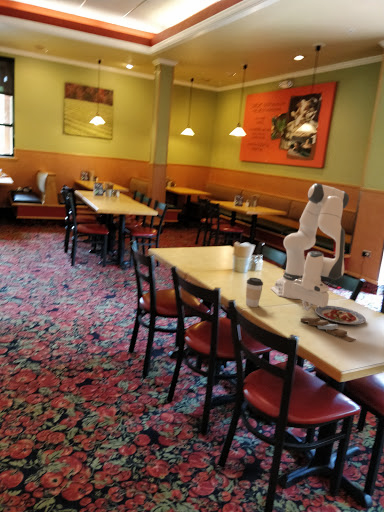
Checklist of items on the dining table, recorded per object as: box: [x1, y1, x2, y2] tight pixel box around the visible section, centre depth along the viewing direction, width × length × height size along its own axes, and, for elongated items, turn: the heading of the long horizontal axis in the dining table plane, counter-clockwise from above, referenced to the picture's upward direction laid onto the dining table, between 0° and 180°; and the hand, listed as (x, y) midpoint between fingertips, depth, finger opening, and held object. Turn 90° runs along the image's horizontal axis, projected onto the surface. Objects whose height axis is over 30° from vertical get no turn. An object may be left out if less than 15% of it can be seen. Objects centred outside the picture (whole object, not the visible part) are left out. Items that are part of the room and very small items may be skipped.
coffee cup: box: [245, 277, 264, 308], centre depth 228 cm, size 9×9×15 cm
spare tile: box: [317, 323, 339, 330], centre depth 203 cm, size 2×5×8 cm
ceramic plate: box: [314, 305, 366, 325], centre depth 223 cm, size 26×26×3 cm
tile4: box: [325, 328, 348, 337], centre depth 200 cm, size 2×5×8 cm
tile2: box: [307, 319, 329, 327], centre depth 207 cm, size 2×5×8 cm
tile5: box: [334, 334, 356, 343], centre depth 197 cm, size 2×5×8 cm
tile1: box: [299, 316, 321, 323], centre depth 210 cm, size 2×5×8 cm
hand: (306, 309), depth 211 cm, fingers closed
